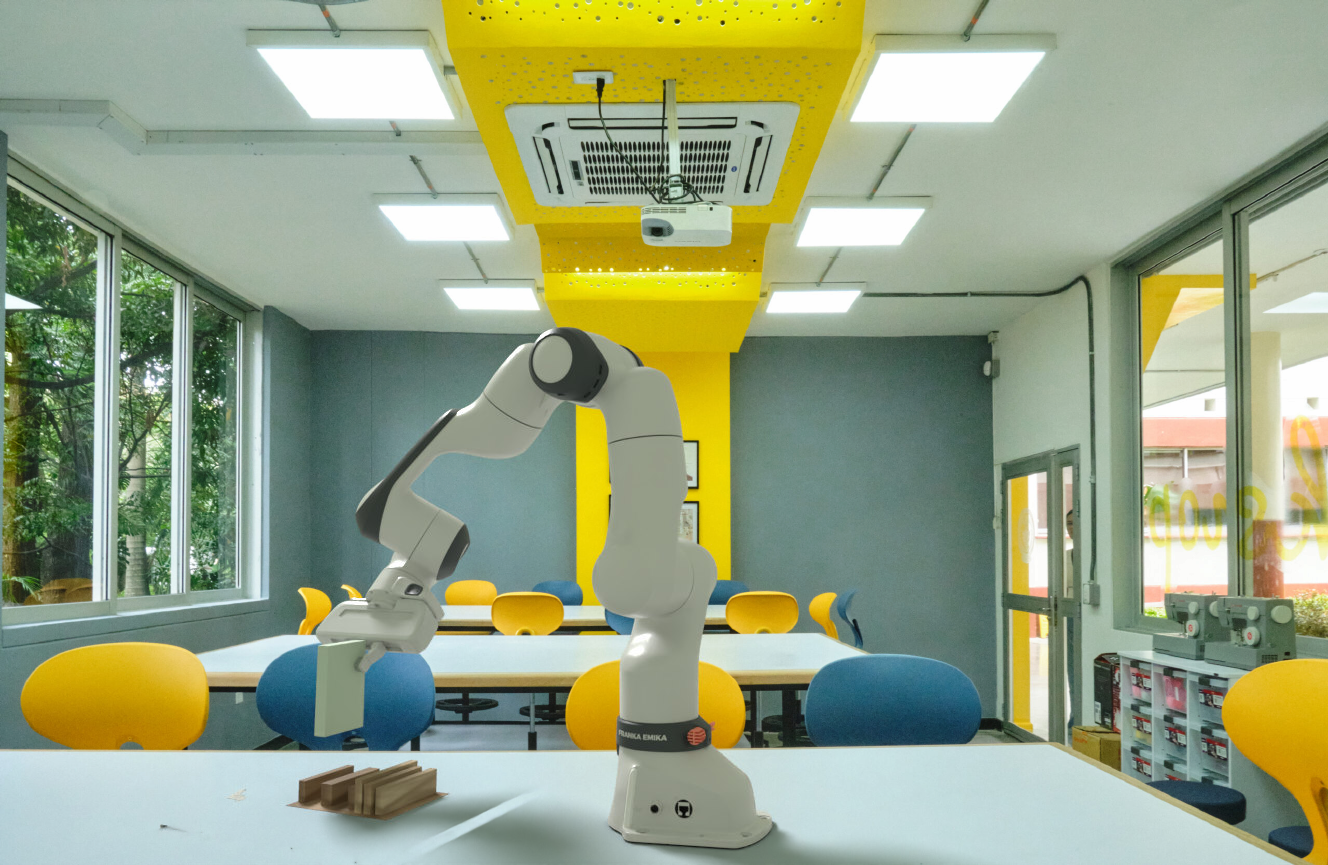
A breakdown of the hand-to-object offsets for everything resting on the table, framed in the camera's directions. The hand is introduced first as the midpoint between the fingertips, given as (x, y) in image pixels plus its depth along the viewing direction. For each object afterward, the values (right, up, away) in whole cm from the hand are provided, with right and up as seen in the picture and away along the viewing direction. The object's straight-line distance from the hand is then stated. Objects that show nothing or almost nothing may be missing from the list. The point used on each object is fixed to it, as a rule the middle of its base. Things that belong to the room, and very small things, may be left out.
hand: (350, 669), depth 140 cm
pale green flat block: (-1, -9, -3) cm, 9 cm away
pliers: (-16, -19, -8) cm, 26 cm away
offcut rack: (+5, -19, -6) cm, 20 cm away
